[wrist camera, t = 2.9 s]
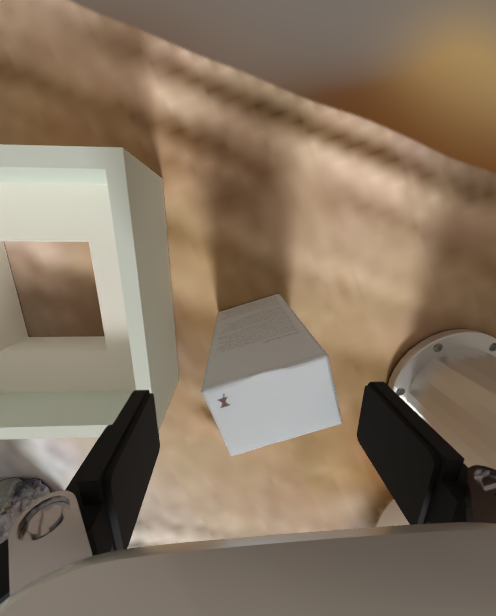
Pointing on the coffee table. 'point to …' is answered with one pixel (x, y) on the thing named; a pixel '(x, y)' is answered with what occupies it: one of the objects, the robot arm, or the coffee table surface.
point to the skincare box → (267, 377)
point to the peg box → (109, 282)
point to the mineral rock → (17, 501)
